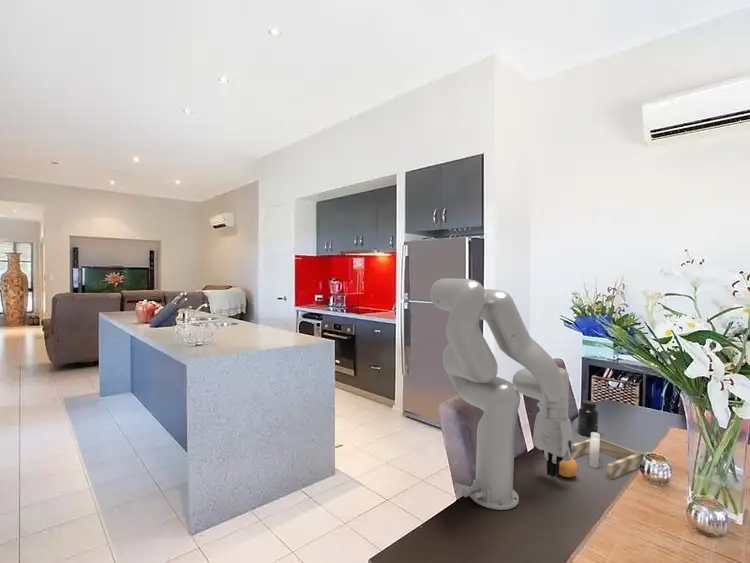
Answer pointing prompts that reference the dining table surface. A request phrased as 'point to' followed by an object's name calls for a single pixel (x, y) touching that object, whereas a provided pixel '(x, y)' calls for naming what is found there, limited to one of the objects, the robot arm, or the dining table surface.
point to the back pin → (595, 436)
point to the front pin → (594, 452)
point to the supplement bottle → (588, 418)
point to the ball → (568, 468)
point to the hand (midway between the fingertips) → (552, 474)
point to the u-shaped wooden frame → (627, 456)
